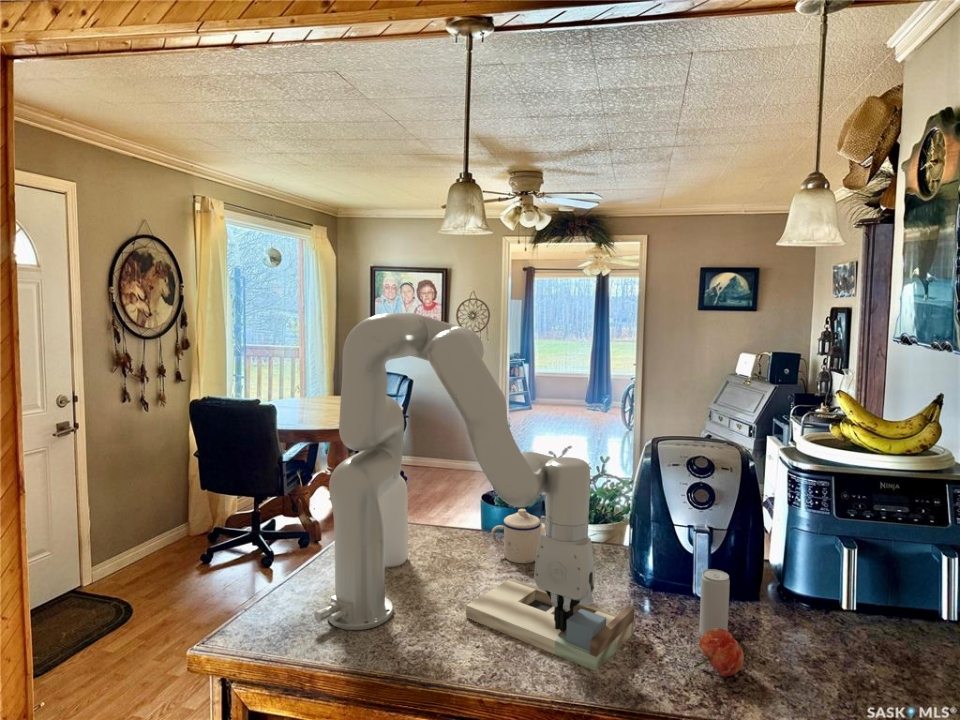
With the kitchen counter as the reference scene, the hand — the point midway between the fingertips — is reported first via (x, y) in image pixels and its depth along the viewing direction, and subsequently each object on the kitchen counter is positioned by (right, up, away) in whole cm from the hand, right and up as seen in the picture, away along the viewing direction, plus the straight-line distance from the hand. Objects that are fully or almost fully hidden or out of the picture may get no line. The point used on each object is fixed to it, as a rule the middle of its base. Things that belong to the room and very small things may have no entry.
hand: (563, 627), depth 109 cm
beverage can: (+28, -3, +3) cm, 28 cm away
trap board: (-2, -3, +7) cm, 7 cm away
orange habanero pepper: (+25, -4, -7) cm, 26 cm away
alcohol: (-37, 0, +35) cm, 51 cm away
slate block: (+4, -1, -3) cm, 5 cm away
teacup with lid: (-6, 0, +38) cm, 39 cm away
